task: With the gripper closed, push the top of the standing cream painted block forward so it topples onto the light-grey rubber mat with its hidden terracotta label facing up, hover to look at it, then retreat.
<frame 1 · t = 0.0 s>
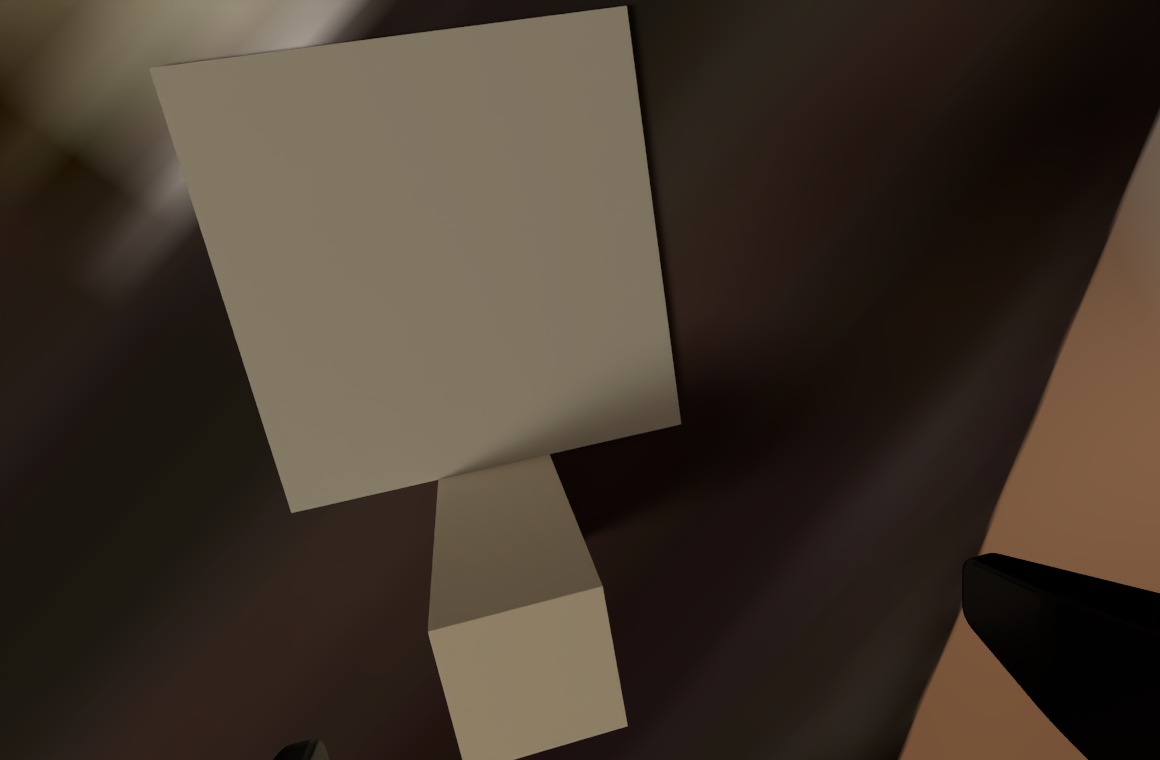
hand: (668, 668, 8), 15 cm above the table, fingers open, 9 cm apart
mat: (451, 269, 21), on the table
block: (505, 512, 23), on the table
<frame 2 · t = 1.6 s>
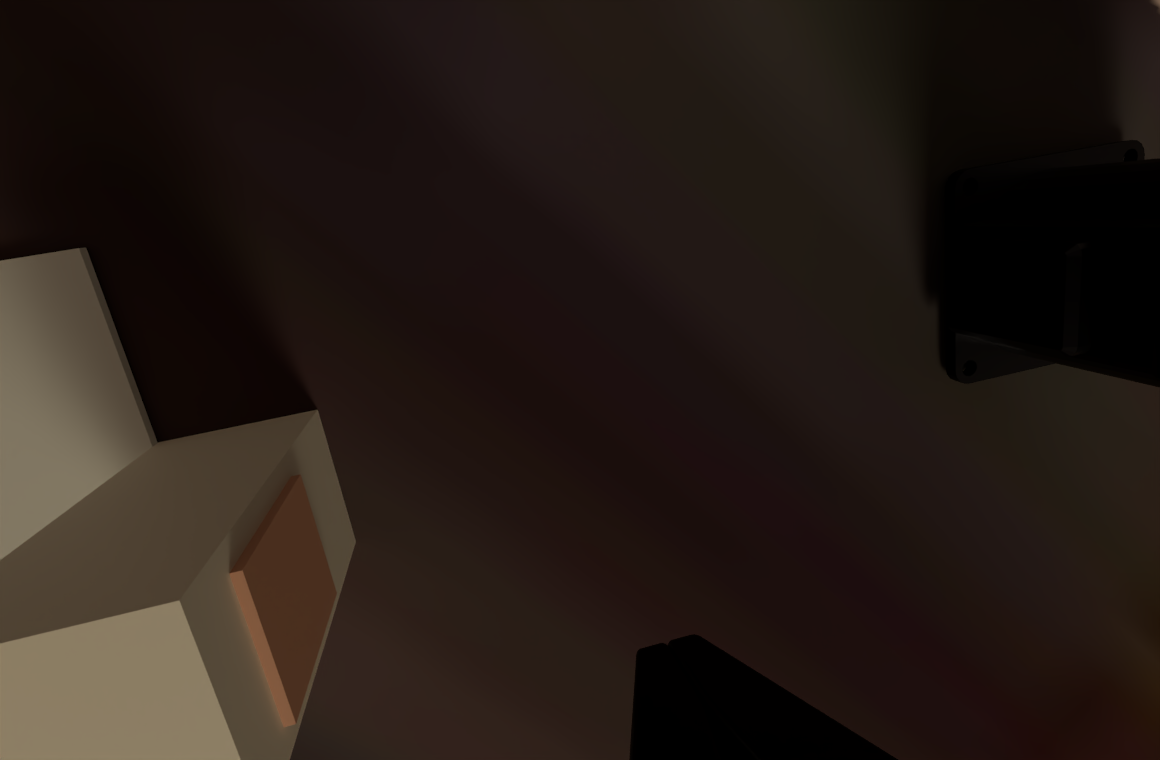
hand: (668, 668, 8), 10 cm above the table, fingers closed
block: (261, 494, 17), on the table
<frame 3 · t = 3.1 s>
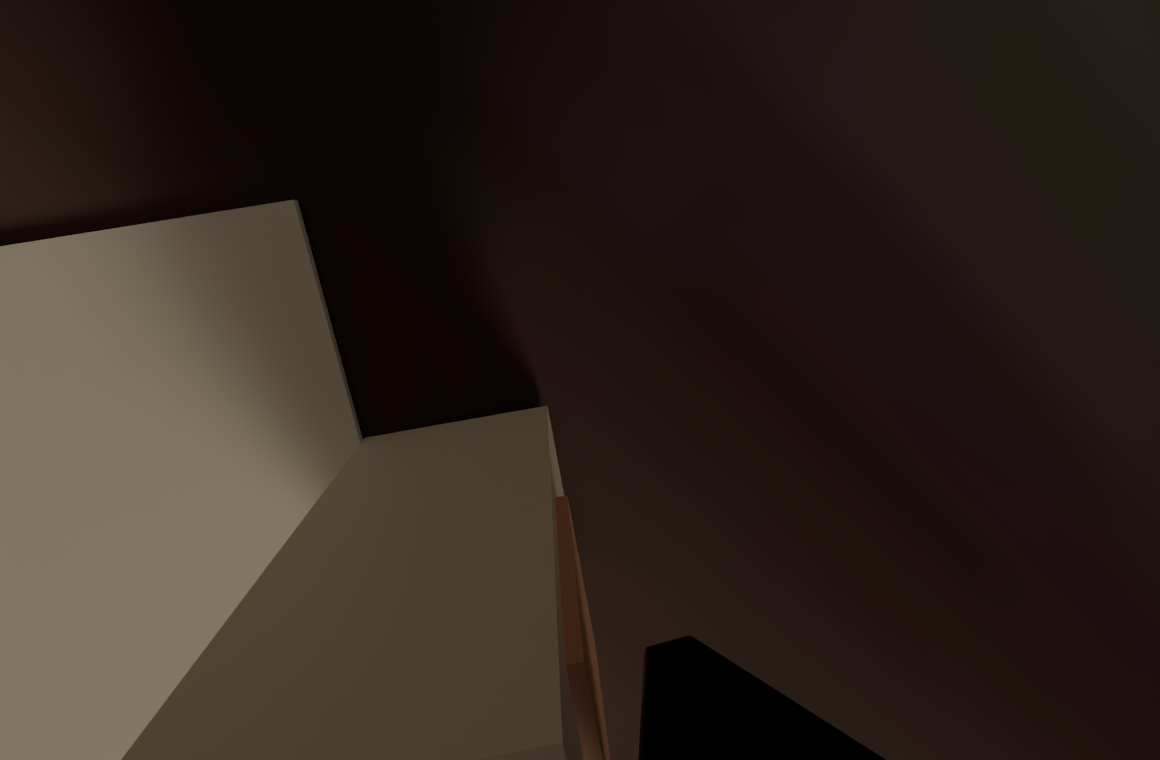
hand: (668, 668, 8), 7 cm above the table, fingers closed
mat: (47, 597, 13), on the table
block: (475, 504, 14), on the table, tilted 6°, touching gripper, mat
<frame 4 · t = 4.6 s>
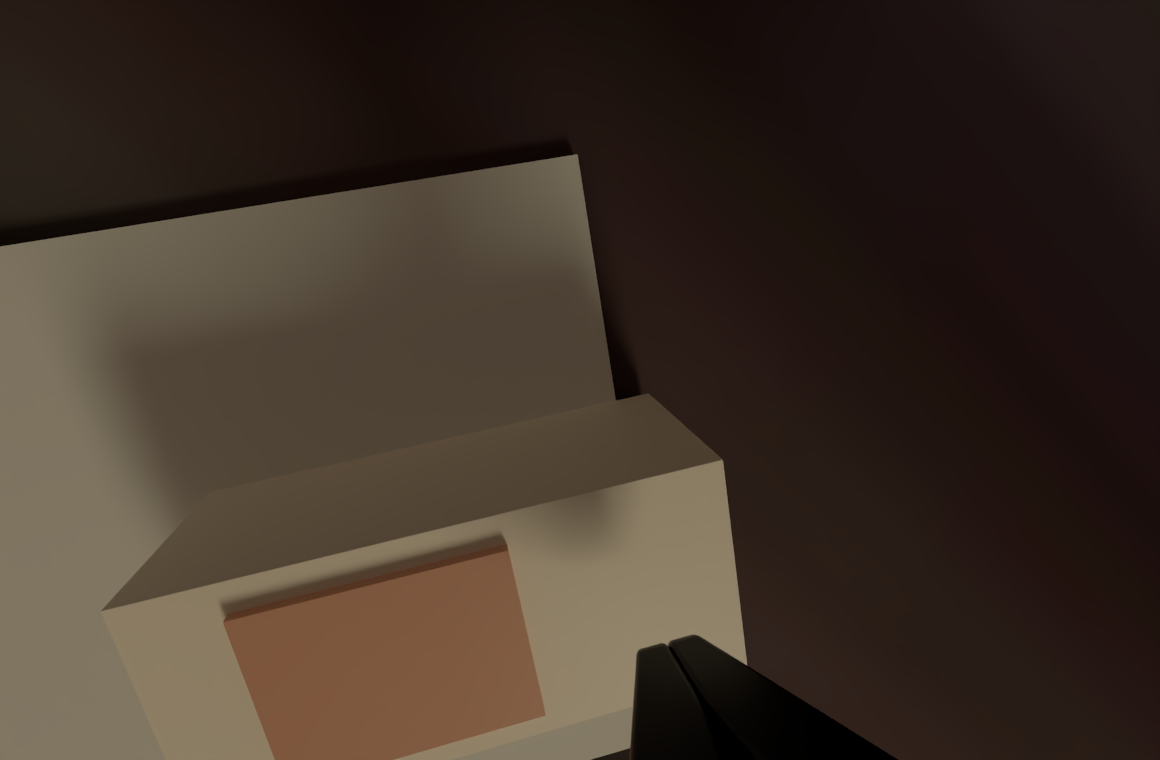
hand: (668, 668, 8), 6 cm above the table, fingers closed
mat: (307, 553, 13), on the table
block: (692, 517, 12), point 2 cm above the table, tilted 90°, touching mat
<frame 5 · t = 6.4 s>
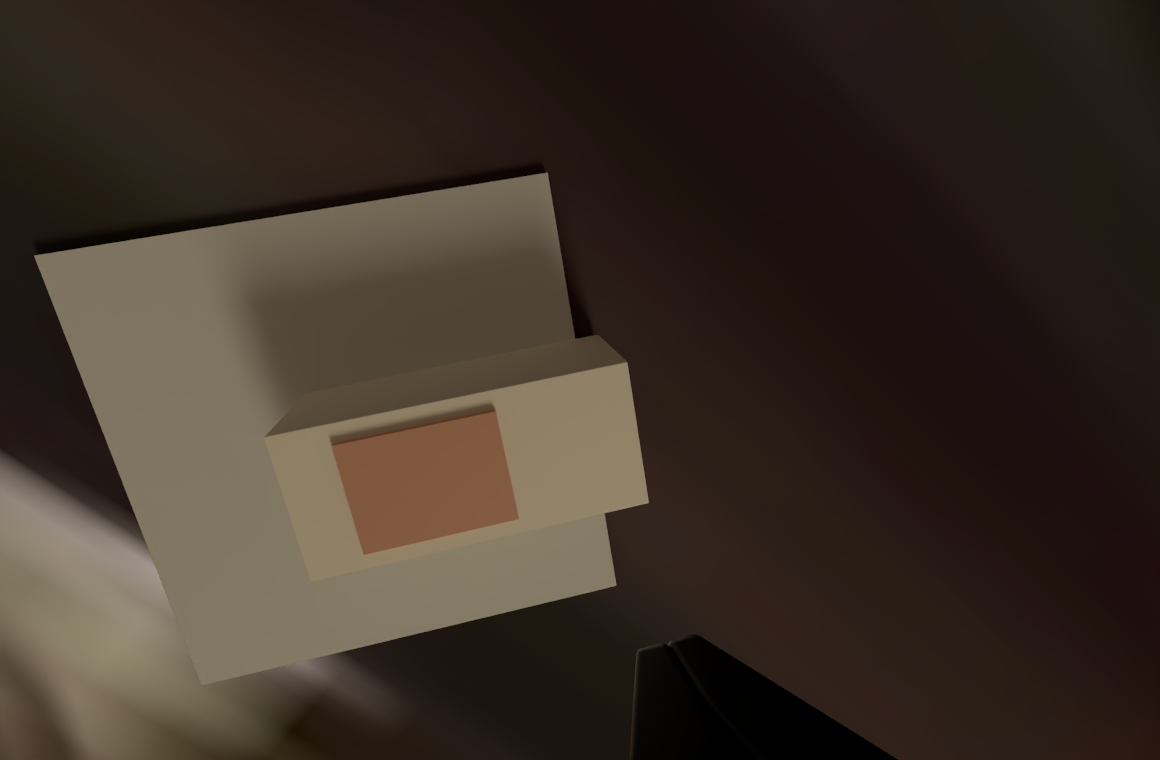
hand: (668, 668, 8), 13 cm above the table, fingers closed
mat: (366, 439, 20), on the table
block: (621, 412, 19), point 2 cm above the table, tilted 90°, touching mat
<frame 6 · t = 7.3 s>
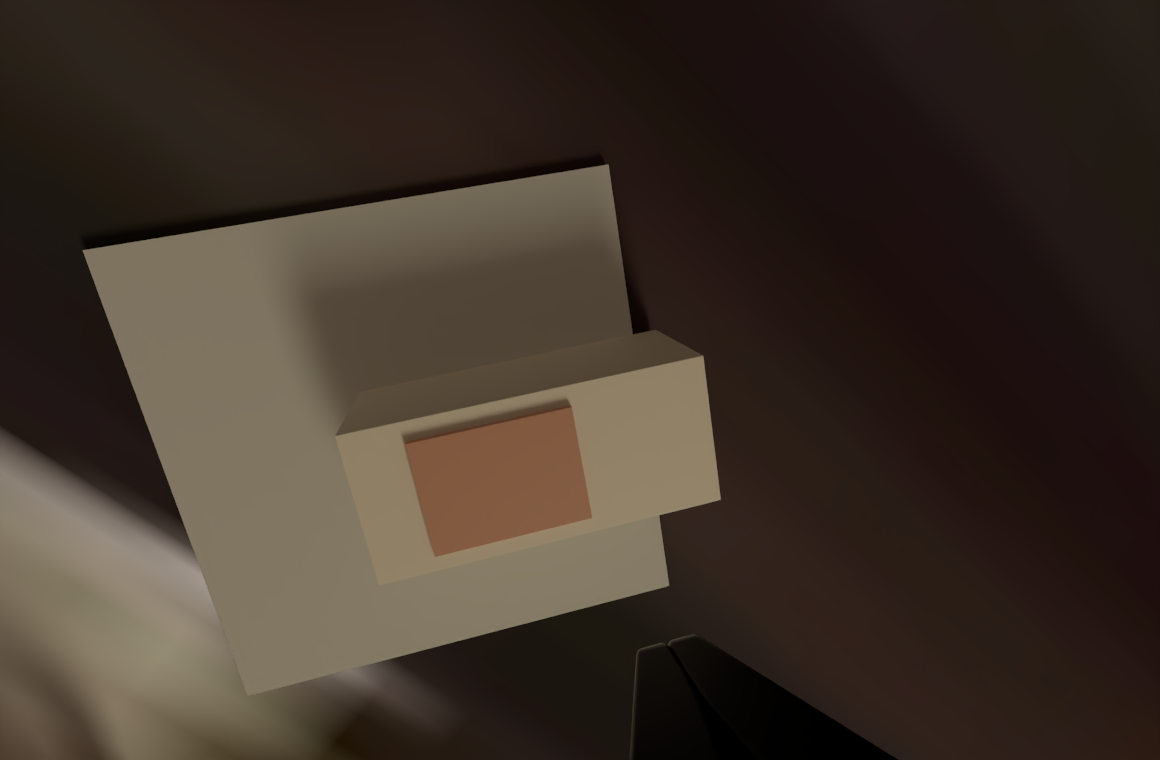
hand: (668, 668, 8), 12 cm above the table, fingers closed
mat: (419, 439, 19), on the table
block: (685, 408, 18), point 2 cm above the table, tilted 90°, touching mat
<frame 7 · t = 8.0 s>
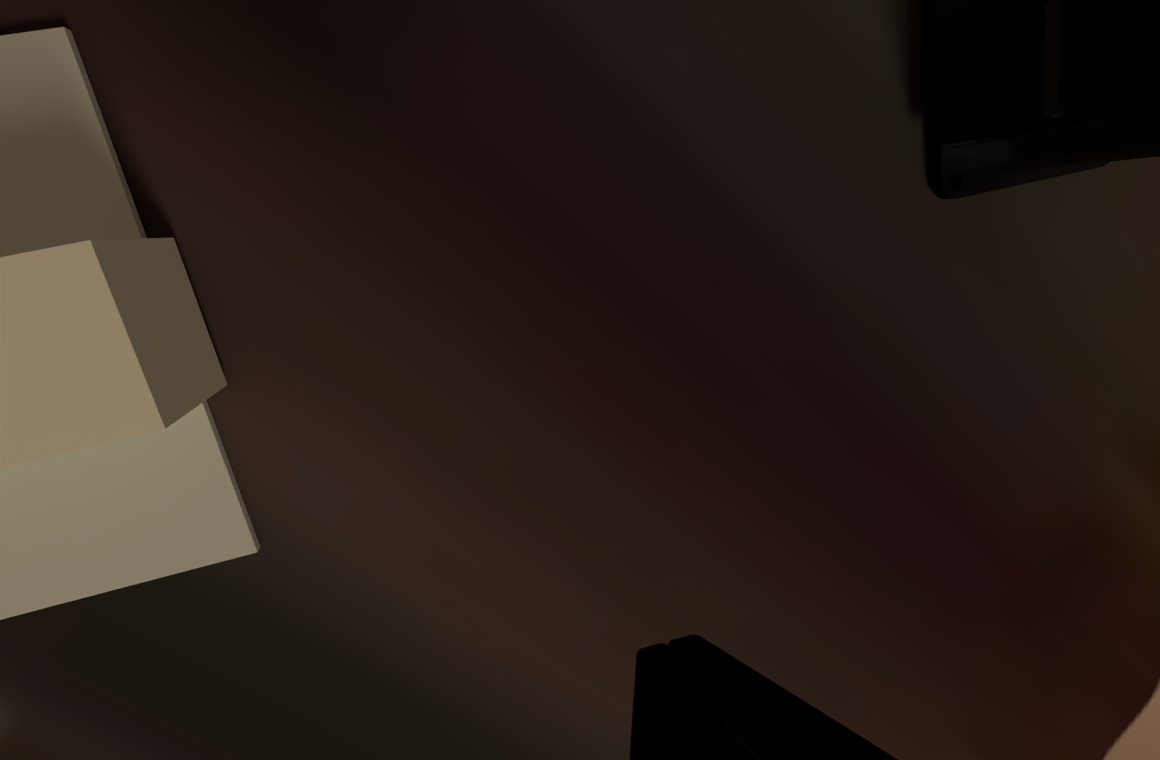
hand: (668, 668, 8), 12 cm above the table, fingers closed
block: (169, 324, 15), point 2 cm above the table, tilted 90°, touching mat
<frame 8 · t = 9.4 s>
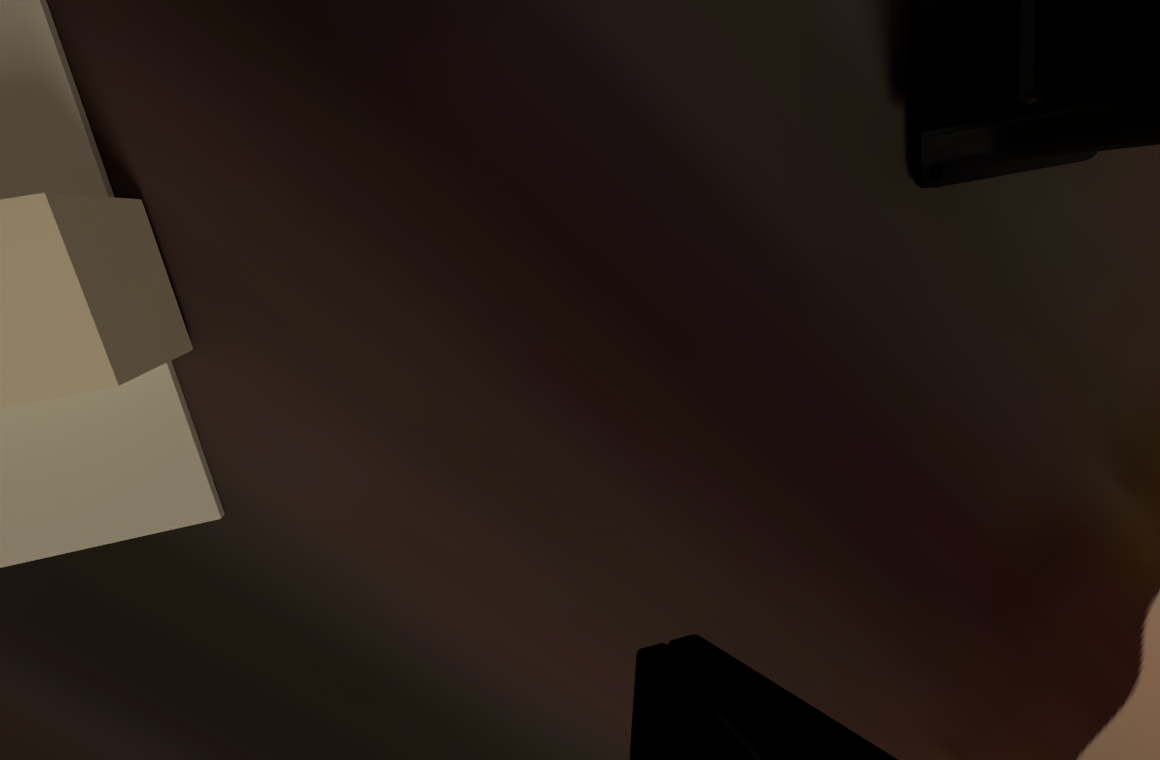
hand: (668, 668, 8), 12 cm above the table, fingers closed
block: (131, 284, 15), point 2 cm above the table, tilted 90°, touching mat
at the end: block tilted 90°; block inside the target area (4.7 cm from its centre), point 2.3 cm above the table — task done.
